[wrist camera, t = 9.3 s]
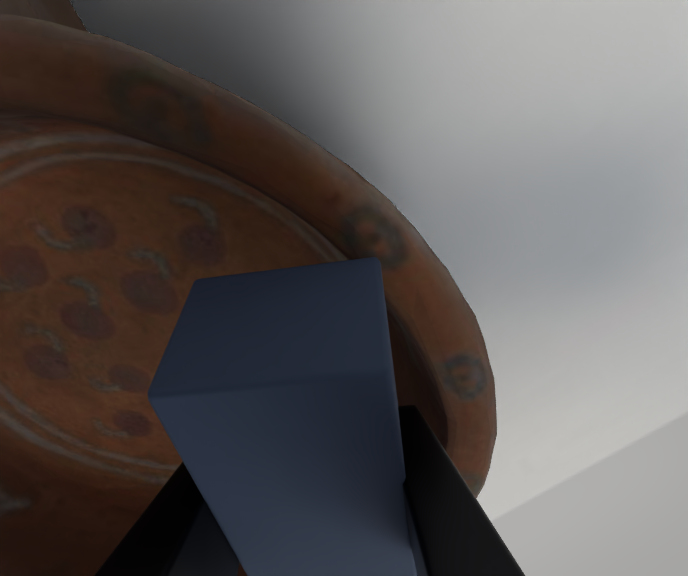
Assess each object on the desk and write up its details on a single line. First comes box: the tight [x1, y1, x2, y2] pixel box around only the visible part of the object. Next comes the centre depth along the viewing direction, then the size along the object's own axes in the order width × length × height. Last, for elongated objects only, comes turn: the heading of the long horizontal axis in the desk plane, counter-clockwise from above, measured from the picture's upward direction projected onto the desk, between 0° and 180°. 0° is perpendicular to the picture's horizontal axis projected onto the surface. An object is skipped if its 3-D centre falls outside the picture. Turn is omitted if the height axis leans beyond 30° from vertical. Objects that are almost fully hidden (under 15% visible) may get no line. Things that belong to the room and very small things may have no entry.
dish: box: [0, 0, 497, 576], centre depth 13 cm, size 18×22×5 cm
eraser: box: [148, 257, 418, 576], centre depth 9 cm, size 6×3×2 cm, turn 8°
